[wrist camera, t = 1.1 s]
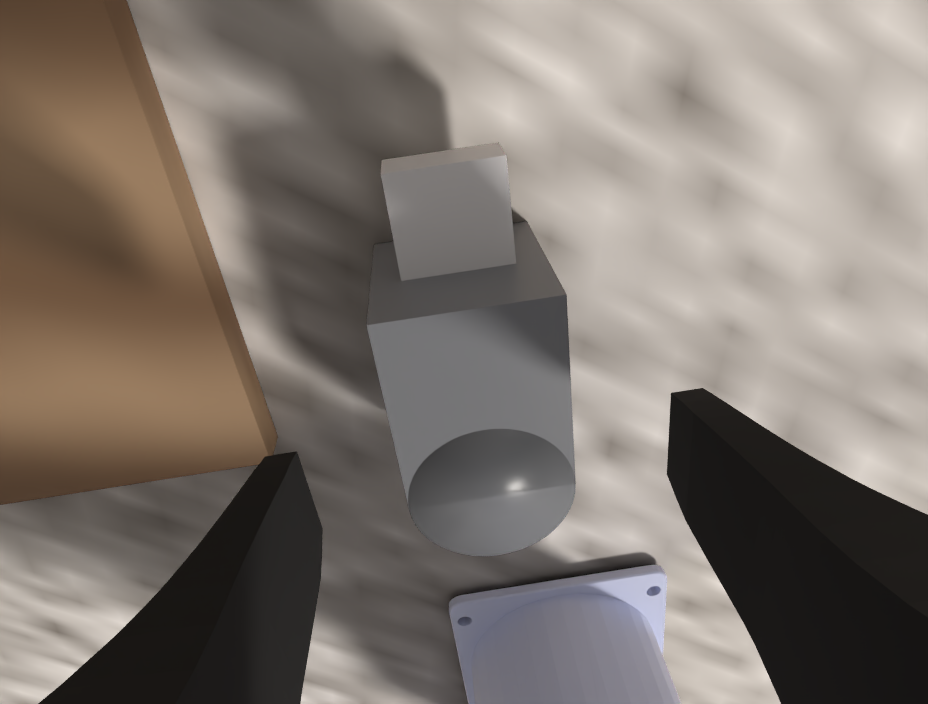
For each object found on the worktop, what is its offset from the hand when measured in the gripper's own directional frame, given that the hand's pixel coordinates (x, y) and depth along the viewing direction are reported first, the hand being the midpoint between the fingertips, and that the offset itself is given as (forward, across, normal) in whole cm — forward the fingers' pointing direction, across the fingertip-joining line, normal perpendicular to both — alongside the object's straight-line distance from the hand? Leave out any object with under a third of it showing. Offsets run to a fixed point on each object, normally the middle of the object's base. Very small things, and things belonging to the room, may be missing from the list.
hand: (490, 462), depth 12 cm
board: (+6, +12, -3) cm, 14 cm away
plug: (+6, 0, 0) cm, 6 cm away
